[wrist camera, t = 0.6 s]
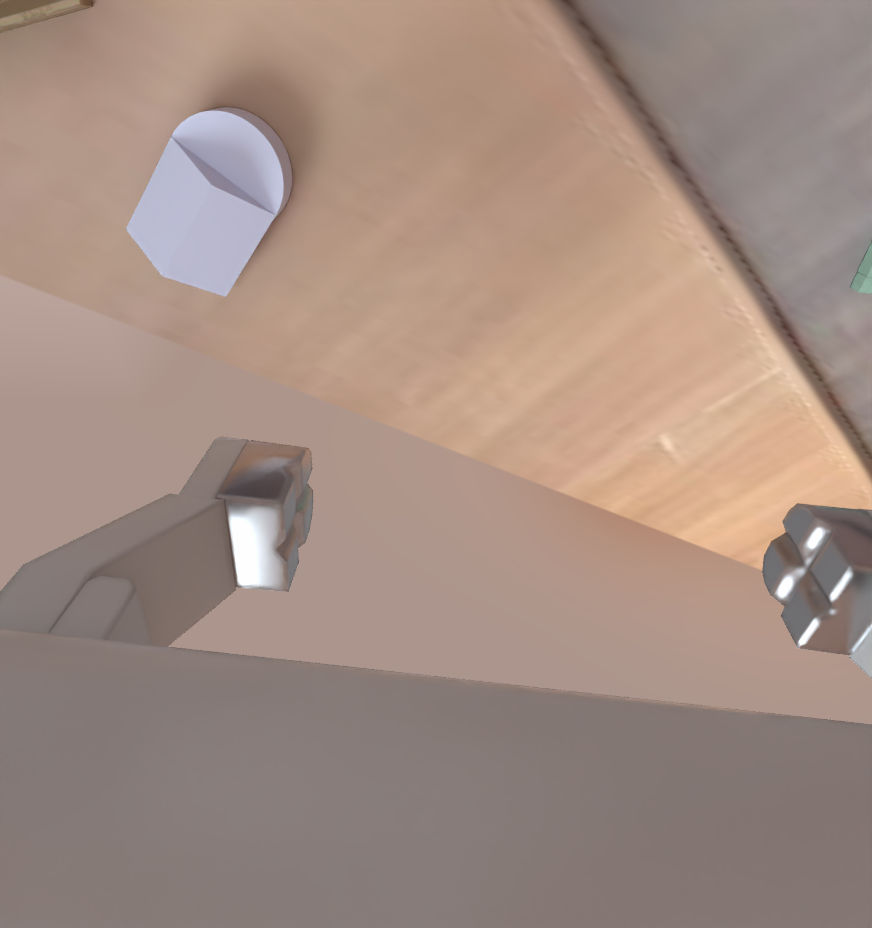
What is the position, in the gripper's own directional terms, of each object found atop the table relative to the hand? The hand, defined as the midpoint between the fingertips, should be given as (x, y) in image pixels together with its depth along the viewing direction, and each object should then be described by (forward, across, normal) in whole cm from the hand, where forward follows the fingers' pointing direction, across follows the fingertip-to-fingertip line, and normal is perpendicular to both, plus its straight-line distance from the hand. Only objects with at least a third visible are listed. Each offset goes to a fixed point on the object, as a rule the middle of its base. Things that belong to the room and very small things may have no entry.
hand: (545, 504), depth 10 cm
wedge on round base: (+46, +22, +7) cm, 51 cm away
